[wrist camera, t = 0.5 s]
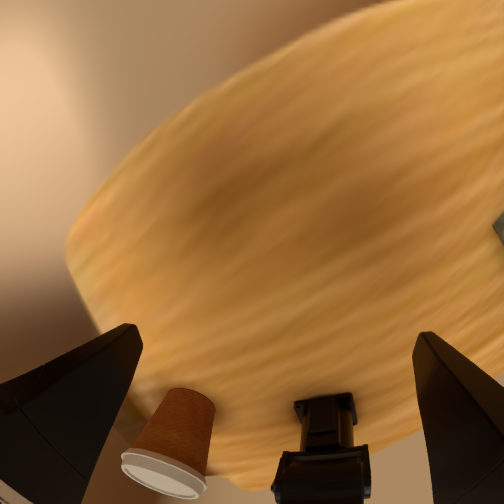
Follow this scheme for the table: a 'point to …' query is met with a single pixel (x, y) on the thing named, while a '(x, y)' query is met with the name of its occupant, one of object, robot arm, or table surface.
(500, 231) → the teal plastic shell
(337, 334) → the table surface
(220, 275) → the table surface
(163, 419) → the disposable coffee cup
